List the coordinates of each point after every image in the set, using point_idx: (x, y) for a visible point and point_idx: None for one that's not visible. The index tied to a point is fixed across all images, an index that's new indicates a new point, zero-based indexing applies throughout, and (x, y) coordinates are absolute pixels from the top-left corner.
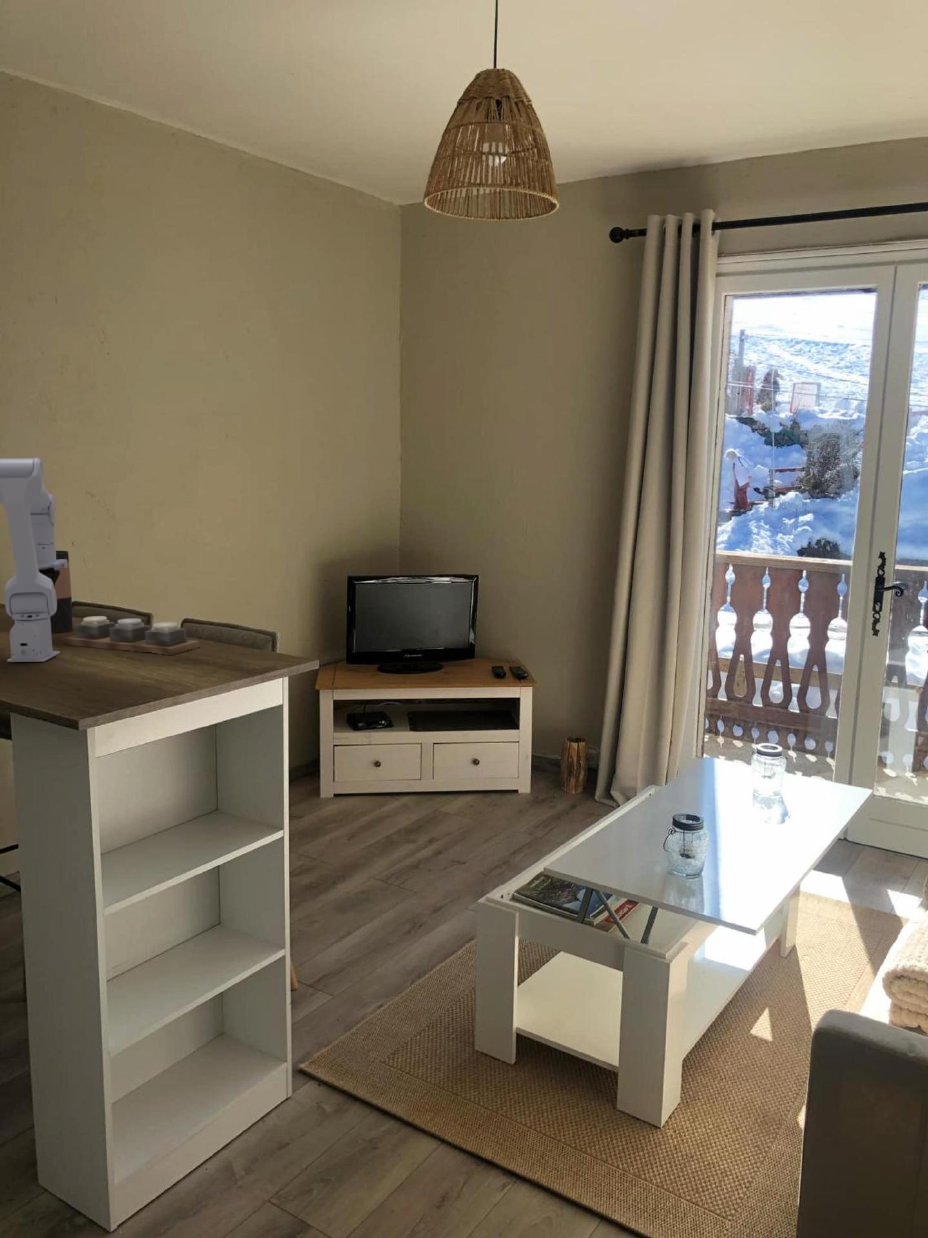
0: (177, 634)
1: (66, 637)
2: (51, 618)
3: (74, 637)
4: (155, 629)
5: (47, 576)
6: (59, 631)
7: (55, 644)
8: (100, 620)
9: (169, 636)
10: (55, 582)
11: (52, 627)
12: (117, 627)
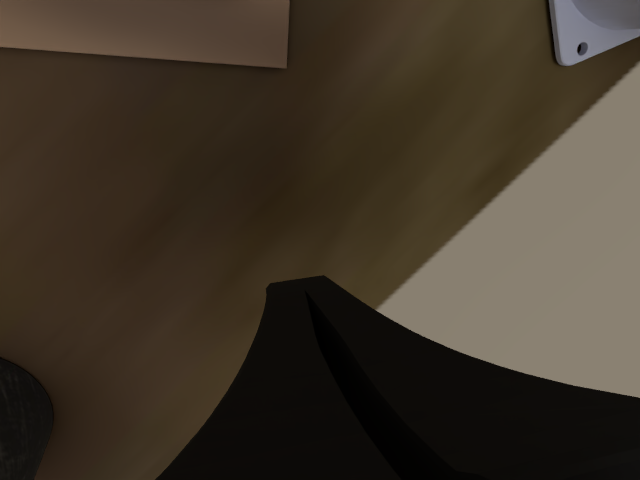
0: None
1: (258, 60)
2: (8, 445)
3: (236, 3)
4: None
5: (621, 406)
6: (5, 365)
7: (292, 116)
8: None
9: None
10: (231, 398)
11: (28, 401)
12: None
